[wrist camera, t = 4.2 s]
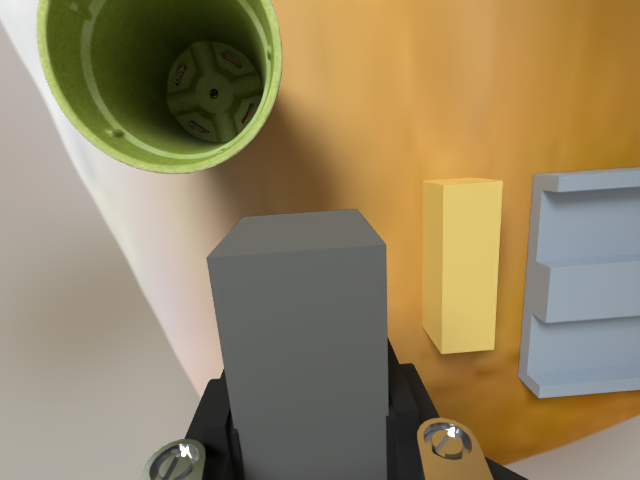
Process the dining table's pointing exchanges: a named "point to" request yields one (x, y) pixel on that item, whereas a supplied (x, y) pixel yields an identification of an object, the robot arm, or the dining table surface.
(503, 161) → the dining table surface
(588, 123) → the dining table surface
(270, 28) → the plant pot
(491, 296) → the butter stick
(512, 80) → the dining table surface
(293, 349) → the dark gray block
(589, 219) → the slot rack
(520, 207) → the dining table surface
